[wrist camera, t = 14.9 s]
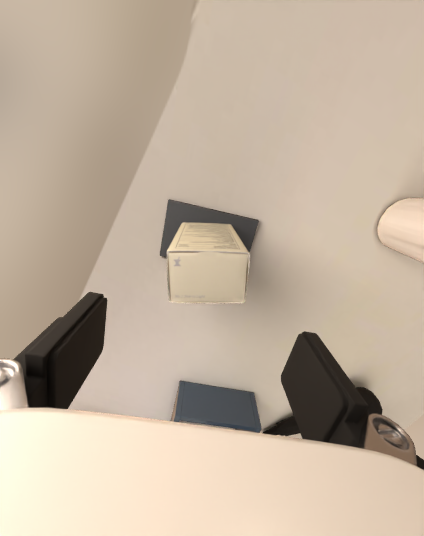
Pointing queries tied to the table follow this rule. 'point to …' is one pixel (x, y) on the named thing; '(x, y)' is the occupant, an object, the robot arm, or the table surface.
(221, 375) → the table surface
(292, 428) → the microphone
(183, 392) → the open box
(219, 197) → the table surface
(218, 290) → the cosmetic box
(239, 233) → the mat
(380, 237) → the cup
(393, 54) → the table surface
